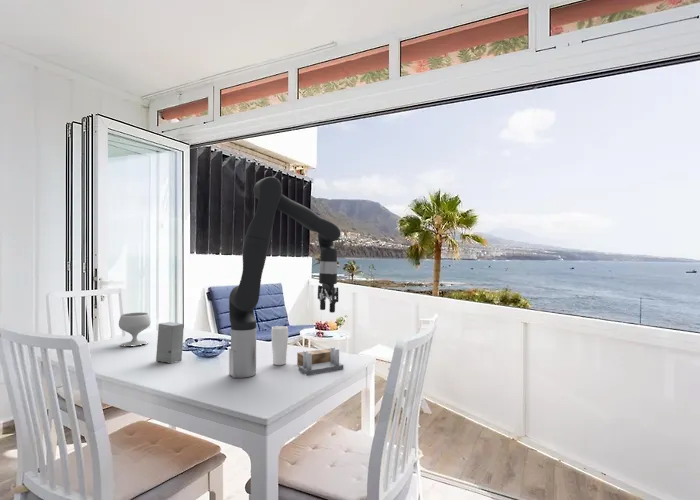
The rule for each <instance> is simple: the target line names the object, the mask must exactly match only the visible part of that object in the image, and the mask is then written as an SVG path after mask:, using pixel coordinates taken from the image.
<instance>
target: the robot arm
mask: <svg viewBox="0 0 700 500" xmlns="http://www.w3.org/2000/svg"><path fill="white" fill-rule="evenodd" d="M252 190H253V195H254V198H256V199H257V200H258V201H257V205H256V206H257V207H256V210H255V213H254V214H253V218H252V220H251V221H250V223H249V225H248V227H247V230H246V234H245V238H244V241H243V242H244V243H243V246H242V271H241V272H242V273H241V277H240V282H239V284H238V285H236V286H235V287H233V288H232V290H231V291H230V294H229V297H228V303H229V304H228V308H229V311H228V313H229V321H230V322H229V323H230V348H229V349H228V350H229V351H228V352H229V353H228V374H229V375H230V376H231V378H233V379H235V378H236V379H237V378H239V379H242V378H249V377H253V376H255V375H256V374H257V320H256V317H255V313H254V309H255V308H256V306H257V305H258V303H259V301H260V300H259V299H260V293H261V284H262V276H263V273H264V272H263V271H264V268H265V265H266V264H265V263H266V261H267V256H268V251H269V247H270V242H271V237H272V232H273V226H274V221H275V217H276V212H277V210H279V212H282V213H283V214H285V215H286V216H288V217H289V218H291V219H293V220H294V221H296V222H297V223H298V224H300V225H302V226H303V227H305V228H306V229H307V230H309V231H311V232H315V233H317V238H318V239H317V241H318V246H319V250H320V251H319V252H320V253H319V254H320V256H319V258H320V259H319V268H318V269H319V272H318V274H319V275H318V280H319V281H318V283H319V284H318V285H317V300H319V310H321V311H325V310H326V300H328V301H329V310H328V311H329V313H335V312H336V303H338V302H339V287H336V286H335V285H336V284H337V283H338V262H337V261H338V251H337V250H338V249H336V248H335V247H334V242H336V241H337V240H339V239H340V237H341V230H340V228H339V227H338V226H337V225H336V224H335V223H333V222H331V221H330V220H328V219H325V218H324V217H321V216H319V215H318V214H317V213H316V212H315V211H313V210H312V209H310V208H309V207H306V206H305V205H303V204H301V203H299V202H297V201H295V200H292V199H291V198H288V197H287V196H285V195H284V194H283V187H282V183H281V180H279V179H278V178H277V177H274V176H268V177H267V176H266V177H264V178H262V179H260V180H258V181H257V182H256V183H255V184H254V185H253V189H252ZM320 284H321V285H320Z"/></svg>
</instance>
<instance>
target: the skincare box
mask: <svg viewBox="0 0 700 500" xmlns="http://www.w3.org/2000/svg"><path fill="white" fill-rule="evenodd" d="M157 327H158V329H157V340H156V341H157V343H156V353H155V354H156V356H155V361H156V362H157V361H161V362H160V363H164V362H168V363H167V364H173V363H176V362H175V361H177V362H179V361H178V360H180V361H182V360H183V356H182V355H183V343H184V329H185V328H184V327H185V324H184V323H179V322H173V321H168V322H160V323H158V326H157ZM172 362H173V363H172Z"/></svg>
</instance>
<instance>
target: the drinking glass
mask: <svg viewBox="0 0 700 500" xmlns="http://www.w3.org/2000/svg"><path fill="white" fill-rule="evenodd" d="M270 337H271V348H272V349H271V350H272V362H273V363H272V364H273V365H275V366H283V365H286V364H287V355H288V353H287V351H288V343H289V327H288V326H286V325H276V326H271V335H270Z"/></svg>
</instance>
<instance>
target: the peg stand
mask: <svg viewBox="0 0 700 500" xmlns="http://www.w3.org/2000/svg"><path fill="white" fill-rule="evenodd" d="M330 348H331V362H325V363H318V364H312V353H308V351H309V350H303V351H302V352H303V366H299V365H298V371H300V372H301V373H303V374H304V375H306V376H308V375H314V374H320V373H327V372H333V371H339V370H344V366H345V365H344V364H342V363H341V362H340V349H339V348H336V347H335V346H331V347H330Z"/></svg>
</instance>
